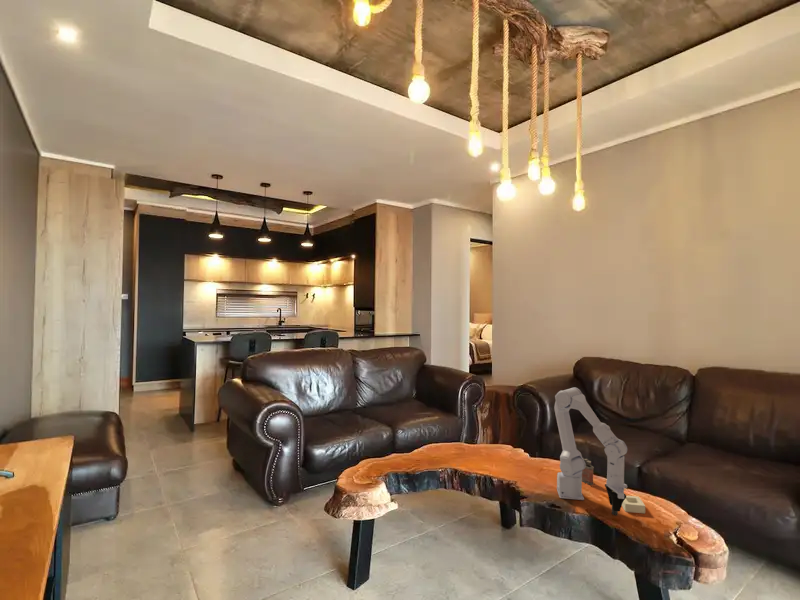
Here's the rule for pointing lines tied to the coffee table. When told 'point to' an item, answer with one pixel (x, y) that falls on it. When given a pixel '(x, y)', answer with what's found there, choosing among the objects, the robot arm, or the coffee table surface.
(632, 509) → the block with square hole
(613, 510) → the metal peg
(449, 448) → the coffee table surface
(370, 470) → the coffee table surface
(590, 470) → the lighter
